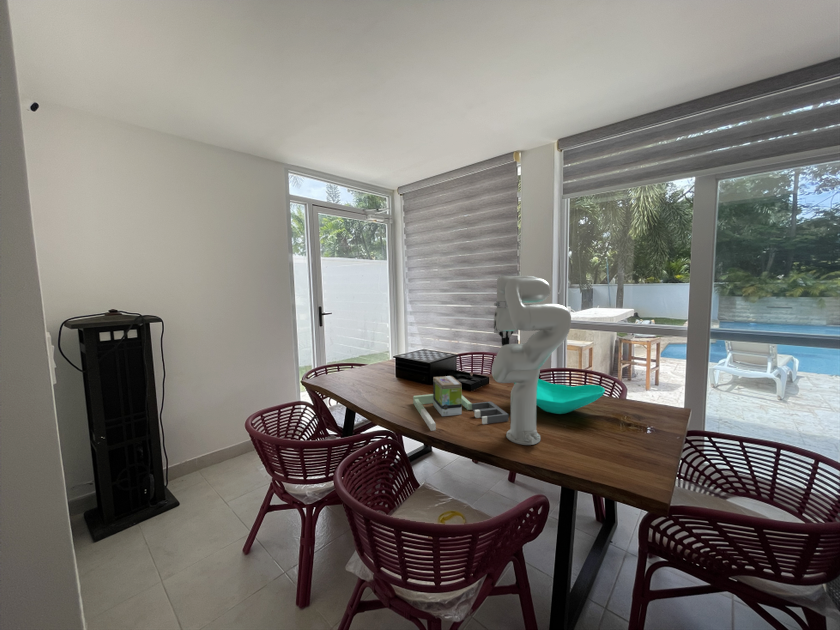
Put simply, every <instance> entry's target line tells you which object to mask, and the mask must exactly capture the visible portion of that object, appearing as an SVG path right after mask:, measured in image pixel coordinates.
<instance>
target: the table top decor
mask: <svg viewBox="0 0 840 630" xmlns="http://www.w3.org/2000/svg"><path fill="white" fill-rule="evenodd" d="M513 385H515V383H513ZM605 391H606V389H605V388H604V387H603V386H601V385H599V384H597V385H596V384H582V385H575V386H572V385H566V384H559V383H558V384H557V383H551V382H548V381H546V380H544V379H541V378H538V384H537V404H536V407H539V408H540V410H542V411H544V412H547V413H550V414H555V415H564V414H567V413H571V412H573V411H575V410H578V409H580V408H583V407H586V406H588V405H590V404H591V403H594V402H596V401H597V400H598V399H600V398H601V397H603V396H604V394H605Z"/></svg>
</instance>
